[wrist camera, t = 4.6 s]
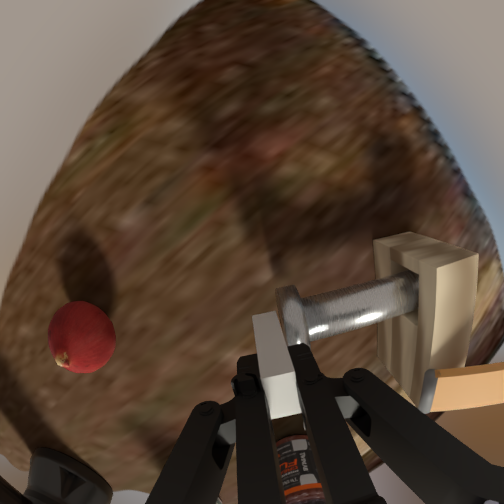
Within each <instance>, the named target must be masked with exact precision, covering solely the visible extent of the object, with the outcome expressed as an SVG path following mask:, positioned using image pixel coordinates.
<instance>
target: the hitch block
mask: <svg viewBox="0 0 504 504" xmlns="http://www.w3.org/2000/svg"><path fill="white" fill-rule="evenodd" d="M373 249H374V260H375V274H376V279H379V278H382V277H386V276H389V275H393V274H397V273H400V272H403V271H407V270H411V271H413V272H415V273H417V274H419V309H416V310H414V311H411V312H408V313H405V314H402V315H399V316H396V317H393V318H390V319H387V320H384V321H381V322H378V323H377V326H378V346H377V357H378V358H379V359H380V360H381V362H382V363H383V364H384V365H385V367H386V368H387V369H388V370H389V372H390V373H391V374H392V376H393V377H394V378H395V379H396V381H397V382H398V383H399V385H400V386H401V387H402V388H403V390H404V391H405V392H406V394H407V395H408V396H409V397H410V399H411V400H412V401H413V403H414V404H415V405H416V407H417V408H418V406H419V401H420V396H421V391H422V386H423V380H424V374H425V372H426V371H427V370H428V369H437V370H439V369H451V368H461V367H464V366H465V362H466V357H467V352H468V347H469V342H470V336H471V330H472V324H473V317H474V309H475V300H476V290H477V277H478V253H475V252H472V251H469V250H466V249H463V248H460V247H457V246H454V245H451V244H448V243H445V242H442V241H439V240H436V239H433V238H429V237H426V236H423V235H420V234H416V233H413V232H406V233H401V234H397V235H393V236H388V237H384V238H380V239H375V240H373Z"/></svg>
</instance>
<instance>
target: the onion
mask: <svg viewBox="0 0 504 504" xmlns="http://www.w3.org/2000/svg"><path fill="white" fill-rule="evenodd" d="M115 343H116V335H115V331H114V327H113V324H112V322H111V321H110V319H109V318H108V316H107V315H106V314H105V313H104V312H103V311H102V310H101V309H100V308H98V307H97V306H95V305H93V304H91V303H88V302H85V301H73V302H70V303H67V304H65V305H64V306H63V307H61V308H60V309H59V310H58V311H57V312H56V313H55V314H54V316H53V318H52V320H51V322H50V325H49V328H48V344H49V348H50V350H51V353H52V355H53V357H54V359H55V360H56V363H57V365H59V366H61V367H64V368H66V369H67V370H70V371H72V372H75V373H91V372H94V371H96V370H97V369H99V368H101V367H102V366H104V365H105V364H106V363H107V362H108V361H109V359H110V357H111V356H112V354H113V352H114V349H115Z"/></svg>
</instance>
